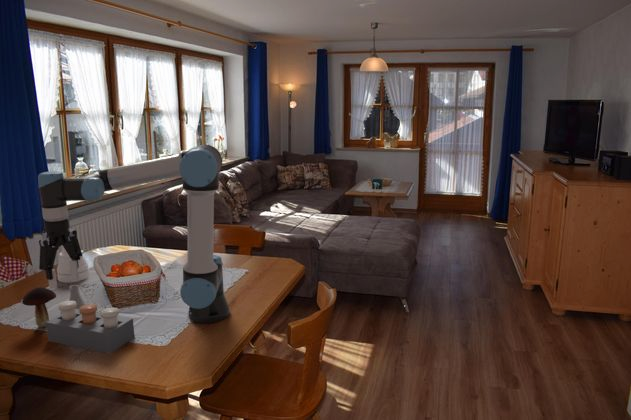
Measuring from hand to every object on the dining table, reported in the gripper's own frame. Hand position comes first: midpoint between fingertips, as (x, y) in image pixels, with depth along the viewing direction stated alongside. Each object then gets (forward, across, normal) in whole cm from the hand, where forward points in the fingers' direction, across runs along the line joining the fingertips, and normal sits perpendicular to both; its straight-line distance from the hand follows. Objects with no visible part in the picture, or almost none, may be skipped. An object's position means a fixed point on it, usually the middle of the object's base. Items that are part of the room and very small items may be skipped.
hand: (64, 282), depth 177 cm
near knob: (+15, 0, +18) cm, 24 cm away
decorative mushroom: (+20, -2, -15) cm, 25 cm away
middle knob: (+15, 0, +9) cm, 18 cm away
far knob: (+15, 0, 0) cm, 15 cm away
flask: (+20, -17, -14) cm, 29 cm away
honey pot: (+20, -45, -43) cm, 65 cm away
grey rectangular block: (+19, 0, +9) cm, 21 cm away
